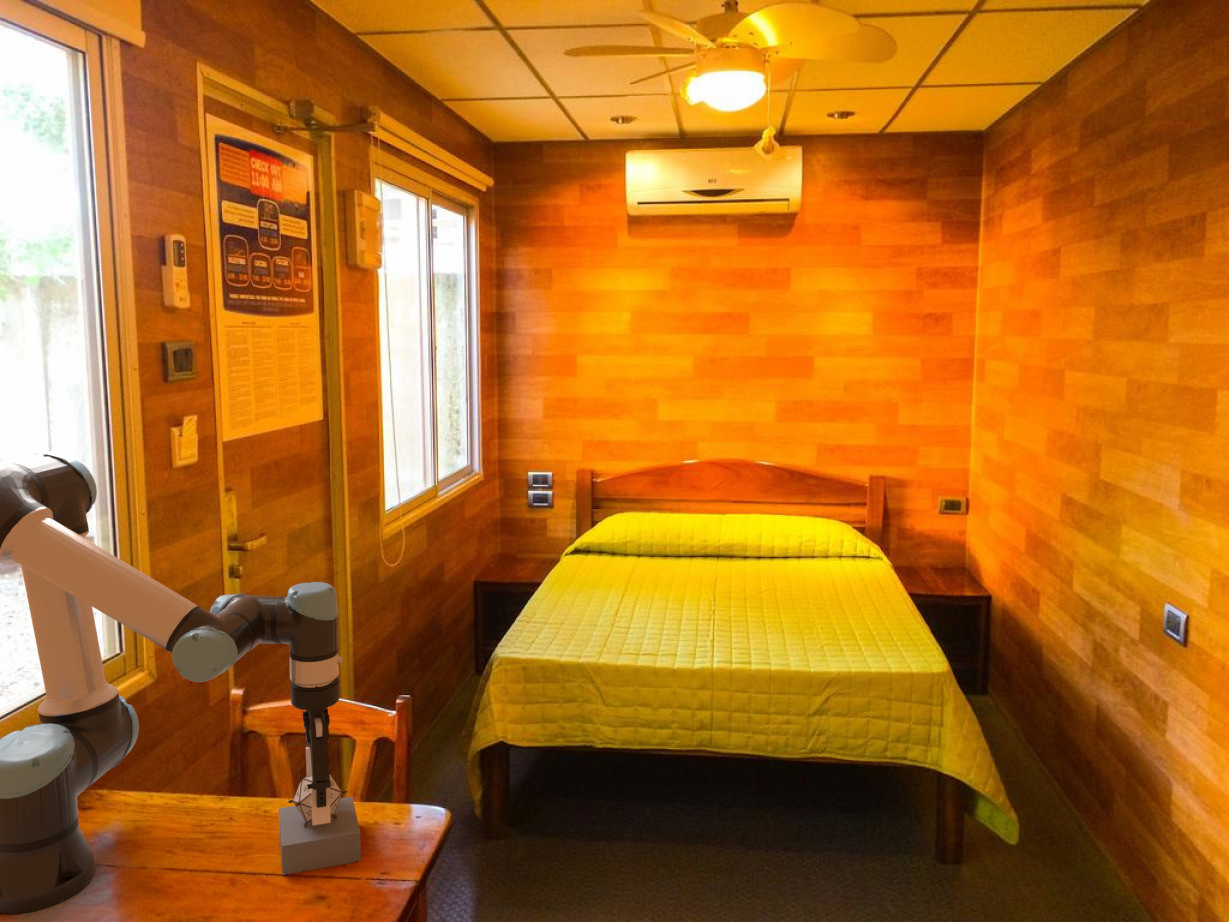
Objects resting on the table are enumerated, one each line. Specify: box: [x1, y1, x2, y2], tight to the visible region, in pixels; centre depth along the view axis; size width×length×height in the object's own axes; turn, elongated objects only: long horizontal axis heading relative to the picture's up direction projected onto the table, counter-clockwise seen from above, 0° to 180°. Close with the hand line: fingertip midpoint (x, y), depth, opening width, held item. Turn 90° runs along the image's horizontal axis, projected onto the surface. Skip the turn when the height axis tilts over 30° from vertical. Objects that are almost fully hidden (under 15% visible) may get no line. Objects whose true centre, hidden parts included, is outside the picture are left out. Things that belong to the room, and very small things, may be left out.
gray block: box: [278, 796, 362, 876], centre depth 154 cm, size 12×12×5 cm
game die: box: [287, 766, 349, 828], centre depth 154 cm, size 9×8×10 cm
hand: (318, 802), depth 153 cm, fingers open, 13 cm apart
